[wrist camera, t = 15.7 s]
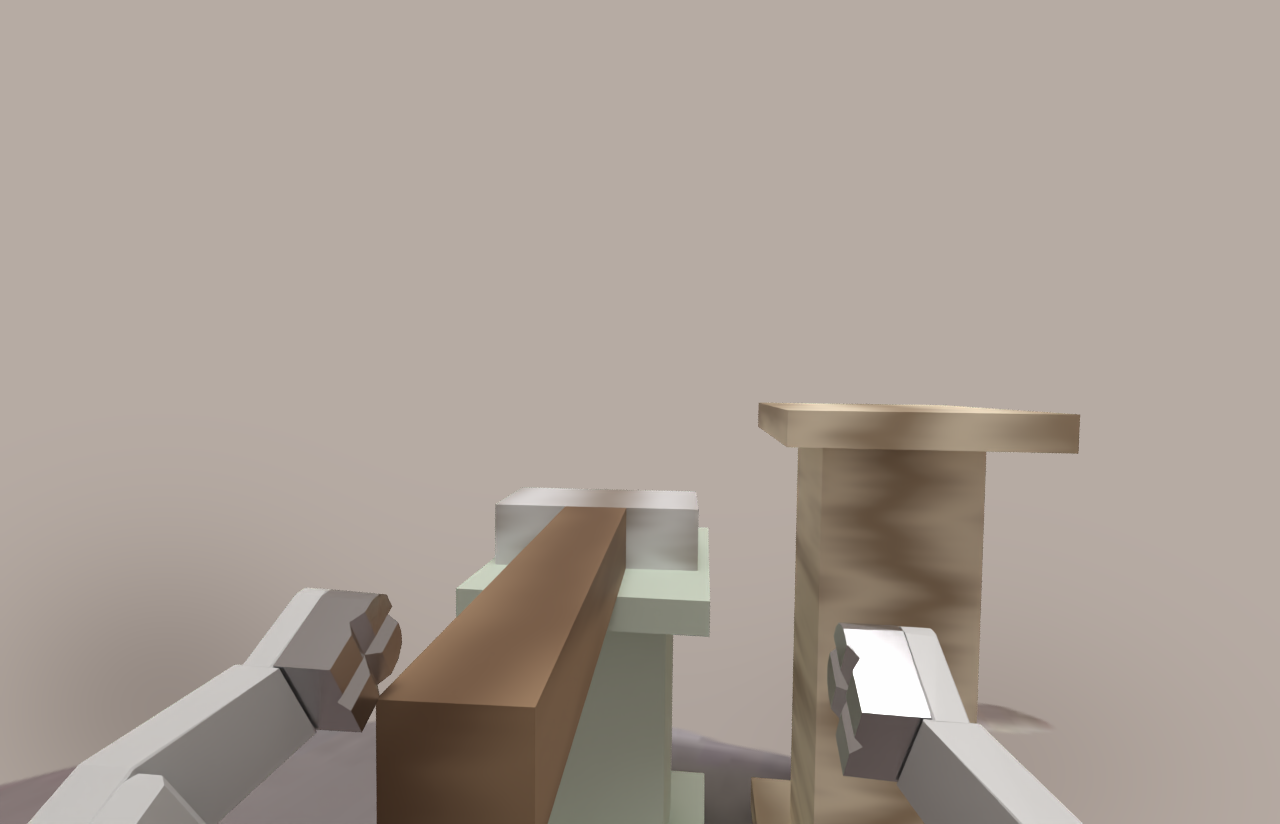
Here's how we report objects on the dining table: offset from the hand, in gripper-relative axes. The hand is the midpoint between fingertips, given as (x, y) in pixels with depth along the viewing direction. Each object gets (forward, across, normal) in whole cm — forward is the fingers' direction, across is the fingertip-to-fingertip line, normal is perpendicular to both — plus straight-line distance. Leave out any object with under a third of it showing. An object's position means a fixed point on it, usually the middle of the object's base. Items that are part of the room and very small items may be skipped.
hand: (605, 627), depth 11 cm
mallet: (+7, +3, +10) cm, 13 cm away
